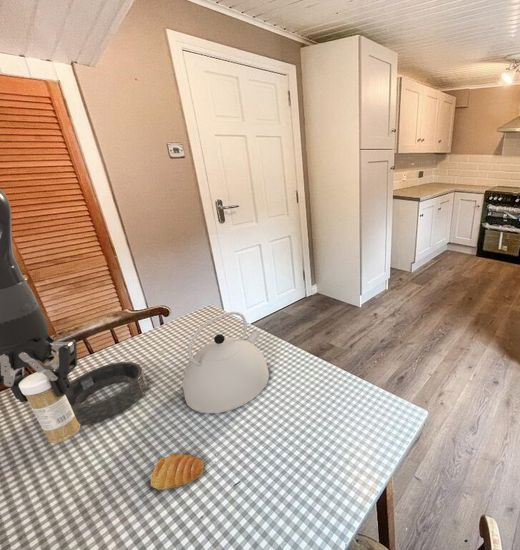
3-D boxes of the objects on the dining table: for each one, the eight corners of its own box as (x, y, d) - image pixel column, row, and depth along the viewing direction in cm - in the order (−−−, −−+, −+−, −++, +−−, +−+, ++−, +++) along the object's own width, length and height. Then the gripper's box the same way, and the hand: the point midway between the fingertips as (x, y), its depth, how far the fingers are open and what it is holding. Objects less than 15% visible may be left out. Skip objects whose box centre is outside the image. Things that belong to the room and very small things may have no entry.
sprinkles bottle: (75, 420, 60) (49, 365, 55) (85, 430, 58) (59, 374, 53) (44, 437, 56) (13, 380, 51) (53, 448, 54) (22, 390, 49)
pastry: (210, 458, 67) (206, 446, 66) (197, 490, 61) (192, 477, 60) (166, 462, 67) (161, 450, 65) (148, 494, 60) (142, 481, 59)
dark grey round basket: (48, 433, 74) (38, 414, 71) (90, 383, 89) (83, 367, 87) (131, 418, 78) (124, 400, 75) (157, 373, 93) (151, 357, 91)
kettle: (240, 349, 105) (228, 290, 97) (290, 369, 95) (282, 305, 87) (167, 396, 85) (145, 327, 76) (222, 428, 75) (203, 353, 66)
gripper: (73, 296, 52) (104, 375, 59) (-31, 305, 49) (13, 387, 56) (42, 318, 46) (80, 404, 52) (-82, 329, 42) (-24, 420, 49)
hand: (45, 395), depth 54 cm, fingers closed on sprinkles bottle, 4 cm apart
